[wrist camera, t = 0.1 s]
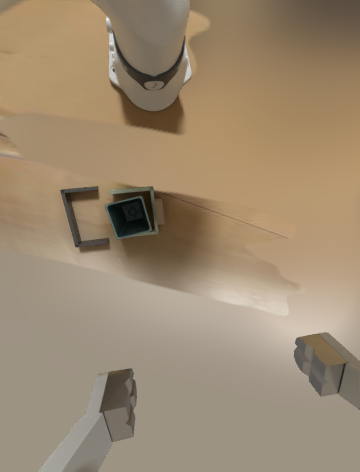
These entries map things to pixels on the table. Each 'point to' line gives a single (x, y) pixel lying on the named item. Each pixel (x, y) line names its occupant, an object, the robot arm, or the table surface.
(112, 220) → the flower pot
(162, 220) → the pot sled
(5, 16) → the table surface
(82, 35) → the table surface
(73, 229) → the frame
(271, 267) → the table surface
